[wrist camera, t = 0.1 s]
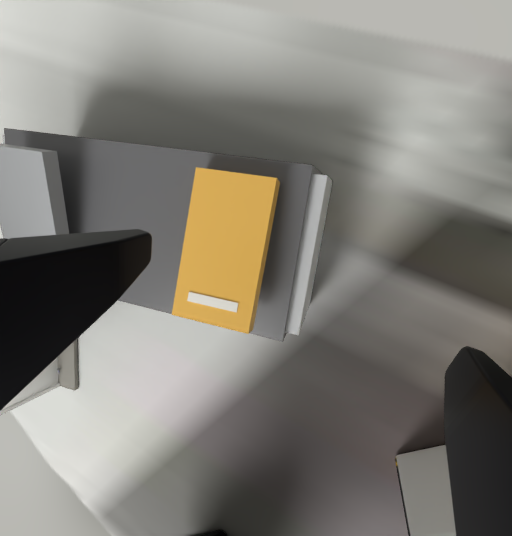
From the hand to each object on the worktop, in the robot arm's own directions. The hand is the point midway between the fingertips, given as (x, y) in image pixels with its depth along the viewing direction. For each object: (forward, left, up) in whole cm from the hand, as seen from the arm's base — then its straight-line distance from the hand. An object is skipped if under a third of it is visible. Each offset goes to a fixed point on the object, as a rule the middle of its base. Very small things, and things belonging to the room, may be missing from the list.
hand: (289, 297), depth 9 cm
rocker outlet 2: (-4, +3, -8) cm, 9 cm away
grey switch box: (-9, +7, -15) cm, 19 cm away
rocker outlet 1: (-14, +11, -8) cm, 19 cm away
